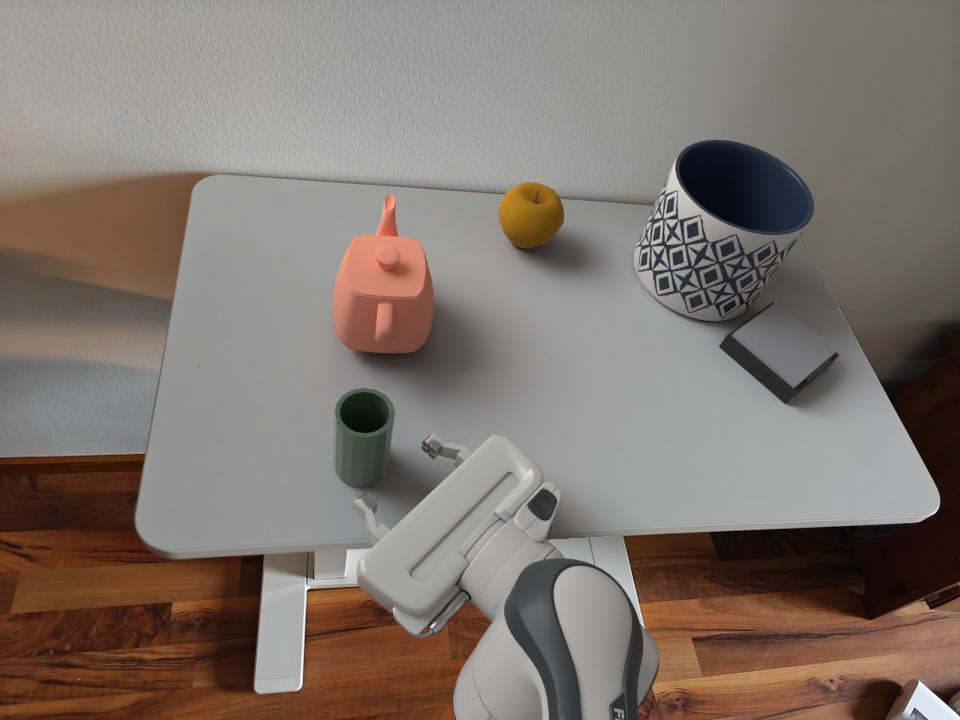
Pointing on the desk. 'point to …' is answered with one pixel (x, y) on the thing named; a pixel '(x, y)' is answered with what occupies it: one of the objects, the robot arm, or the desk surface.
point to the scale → (779, 351)
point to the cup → (362, 436)
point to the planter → (721, 229)
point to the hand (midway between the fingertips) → (393, 468)
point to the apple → (530, 214)
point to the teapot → (384, 291)
